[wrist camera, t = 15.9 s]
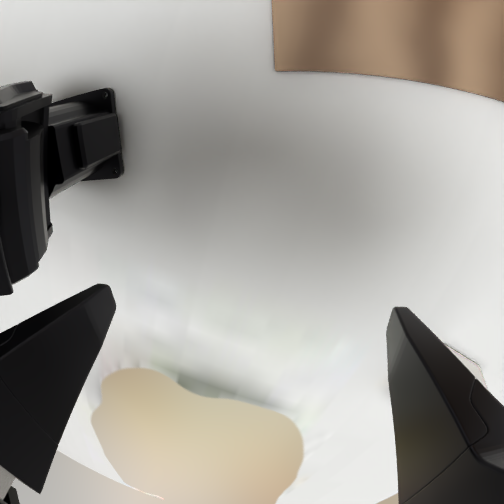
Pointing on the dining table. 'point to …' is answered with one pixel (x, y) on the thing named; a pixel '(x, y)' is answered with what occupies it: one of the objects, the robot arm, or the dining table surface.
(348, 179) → the dining table surface
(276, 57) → the wooden base with peg
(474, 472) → the robot arm
